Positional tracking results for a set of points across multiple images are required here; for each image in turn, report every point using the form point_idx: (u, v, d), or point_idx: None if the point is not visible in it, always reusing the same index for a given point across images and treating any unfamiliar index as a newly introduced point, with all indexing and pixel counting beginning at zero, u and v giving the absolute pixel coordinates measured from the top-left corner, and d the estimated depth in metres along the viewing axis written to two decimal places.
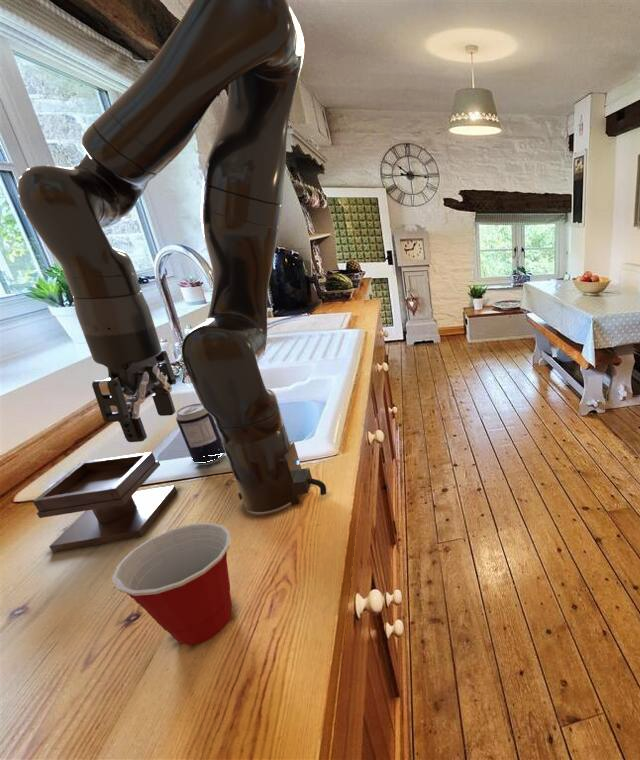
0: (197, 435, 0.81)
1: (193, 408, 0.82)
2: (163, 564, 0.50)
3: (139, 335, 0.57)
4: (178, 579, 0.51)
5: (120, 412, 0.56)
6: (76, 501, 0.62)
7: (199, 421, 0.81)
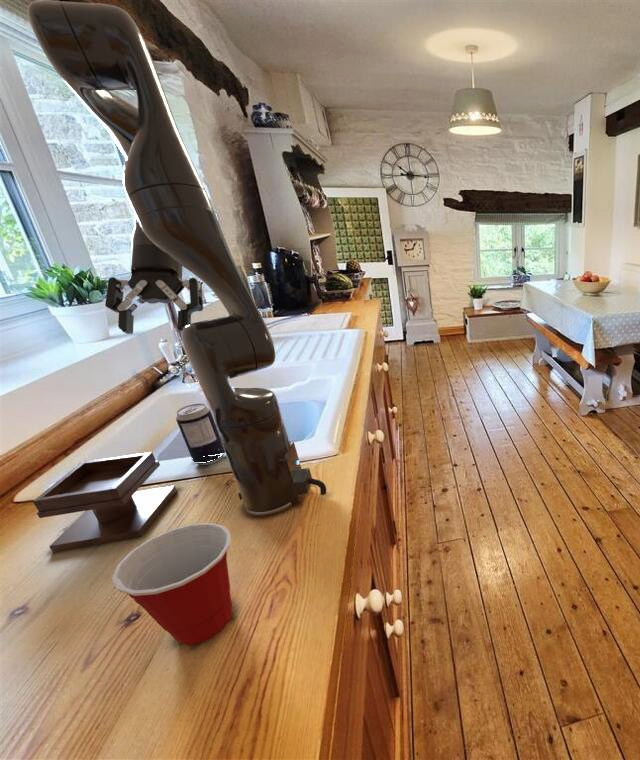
0: (197, 435, 0.81)
1: (193, 408, 0.82)
2: (163, 564, 0.50)
3: (135, 248, 0.75)
4: (178, 579, 0.51)
5: None
6: (76, 501, 0.62)
7: (199, 421, 0.81)
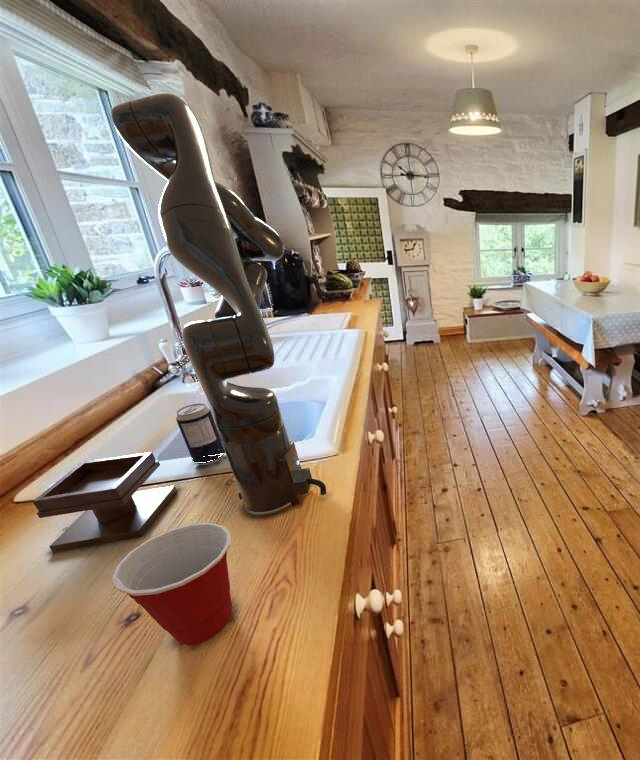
0: (197, 435, 0.81)
1: (193, 408, 0.82)
2: (163, 564, 0.50)
3: (220, 299, 0.91)
4: (178, 579, 0.51)
5: None
6: (76, 501, 0.62)
7: (199, 421, 0.81)
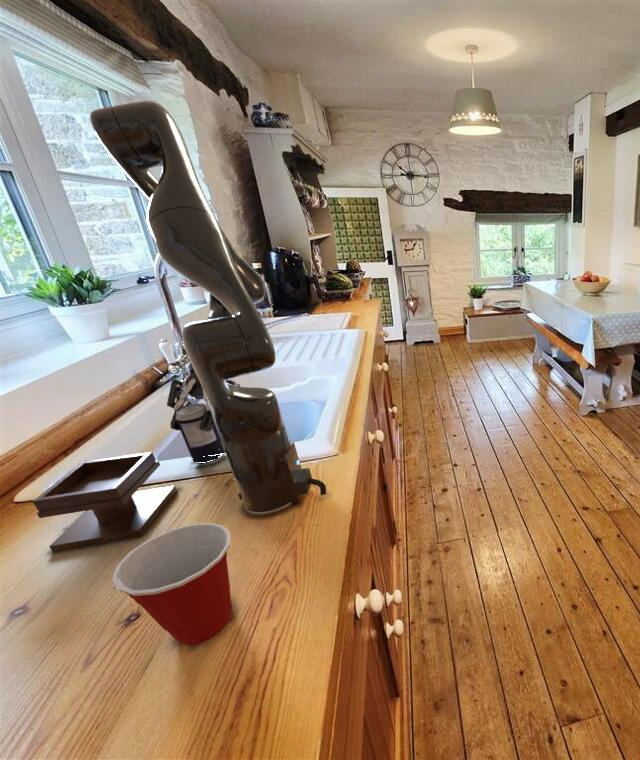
0: (197, 435, 0.81)
1: (193, 408, 0.82)
2: (163, 564, 0.50)
3: None
4: (178, 579, 0.51)
5: None
6: (76, 501, 0.62)
7: (199, 421, 0.81)
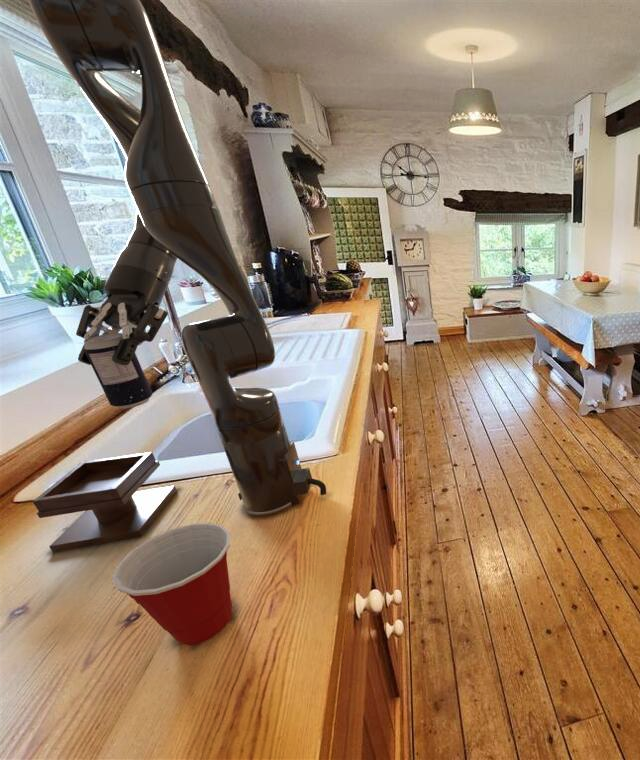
0: (110, 369, 0.66)
1: (107, 337, 0.67)
2: (163, 564, 0.50)
3: (112, 269, 0.69)
4: (178, 579, 0.51)
5: None
6: (76, 501, 0.62)
7: (113, 352, 0.66)
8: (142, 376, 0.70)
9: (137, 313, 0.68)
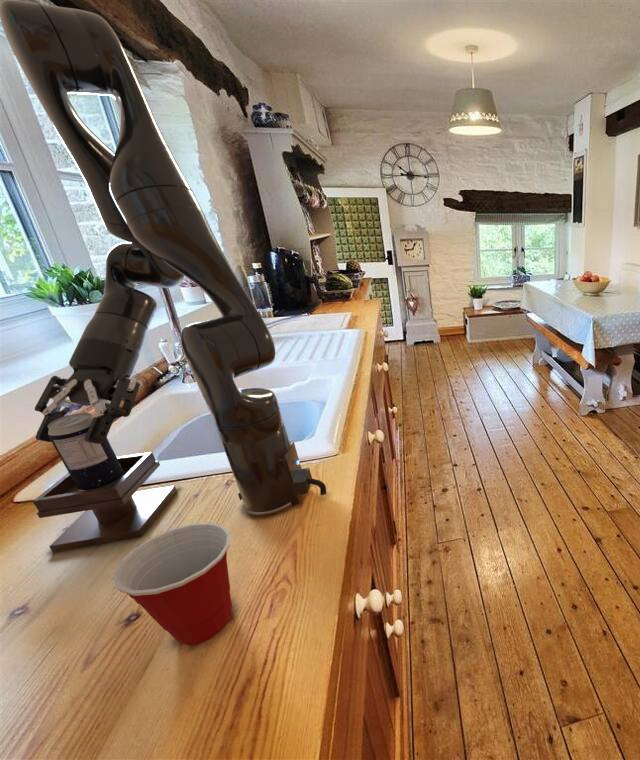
0: (76, 454, 0.62)
1: (73, 419, 0.63)
2: (163, 564, 0.50)
3: (78, 343, 0.65)
4: (178, 579, 0.51)
5: None
6: (76, 501, 0.62)
7: (79, 436, 0.62)
8: (112, 456, 0.66)
9: (104, 390, 0.64)
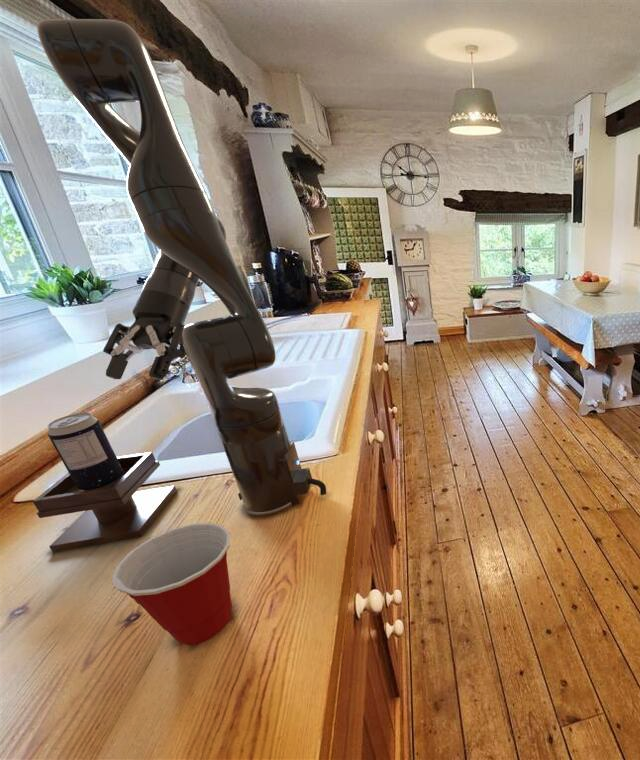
0: (76, 454, 0.62)
1: (73, 419, 0.63)
2: (163, 564, 0.50)
3: None
4: (178, 579, 0.51)
5: None
6: (76, 501, 0.62)
7: (79, 436, 0.62)
8: (112, 456, 0.66)
9: (163, 335, 0.74)
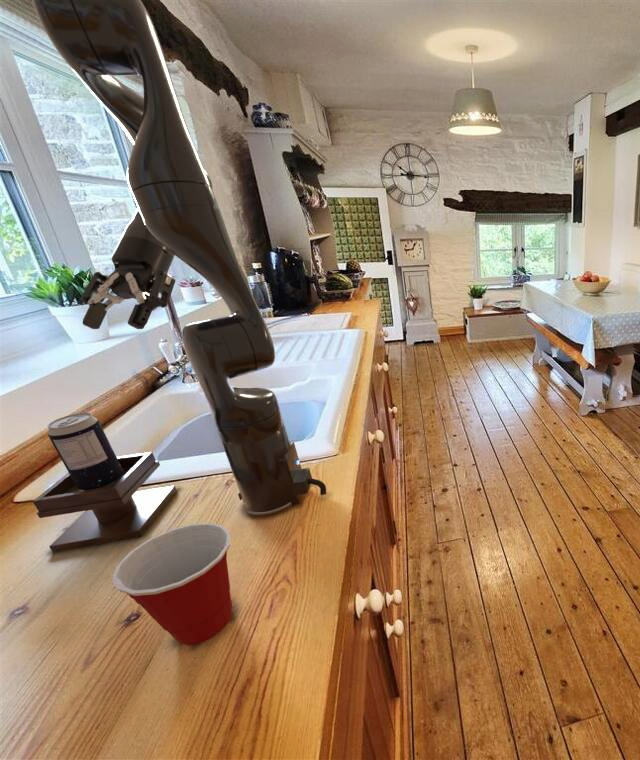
0: (76, 454, 0.62)
1: (73, 419, 0.63)
2: (163, 564, 0.50)
3: (119, 241, 0.71)
4: (178, 579, 0.51)
5: None
6: (76, 501, 0.62)
7: (79, 436, 0.62)
8: (112, 456, 0.66)
9: (144, 283, 0.71)
